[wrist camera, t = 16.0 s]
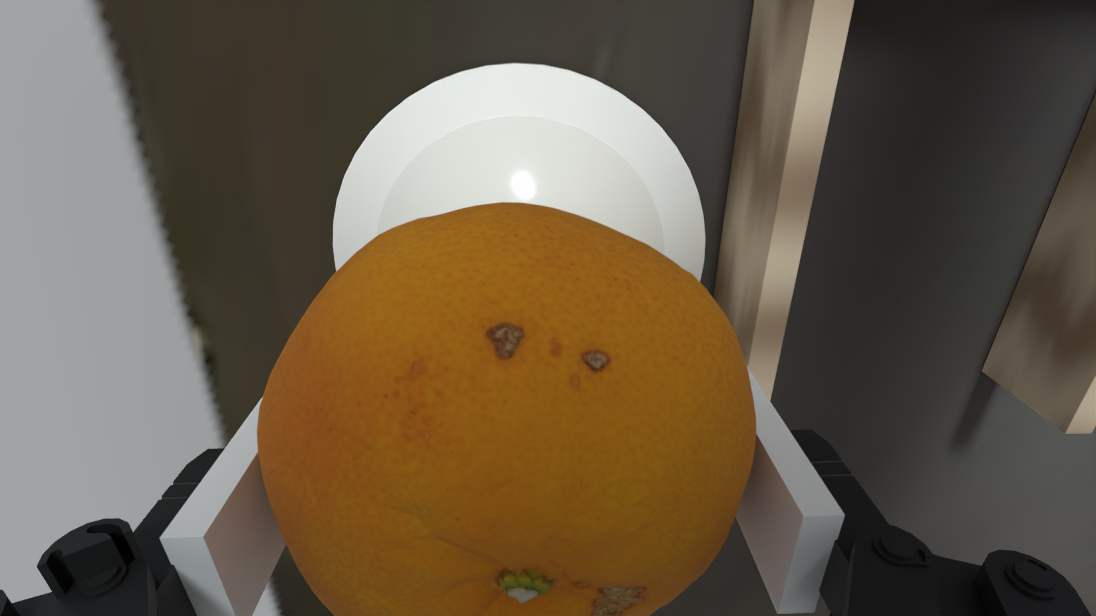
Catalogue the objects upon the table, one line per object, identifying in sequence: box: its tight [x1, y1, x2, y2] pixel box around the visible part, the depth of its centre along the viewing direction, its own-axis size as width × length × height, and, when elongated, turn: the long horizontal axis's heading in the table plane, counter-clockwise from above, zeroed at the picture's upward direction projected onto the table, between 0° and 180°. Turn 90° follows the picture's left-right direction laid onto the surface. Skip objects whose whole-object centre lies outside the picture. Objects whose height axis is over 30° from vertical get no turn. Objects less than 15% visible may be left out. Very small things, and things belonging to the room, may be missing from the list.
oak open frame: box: [713, 0, 1096, 434], centre depth 21 cm, size 23×16×6 cm
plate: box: [333, 62, 705, 282], centre depth 24 cm, size 16×16×1 cm
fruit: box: [257, 202, 756, 616], centre depth 13 cm, size 10×10×8 cm
